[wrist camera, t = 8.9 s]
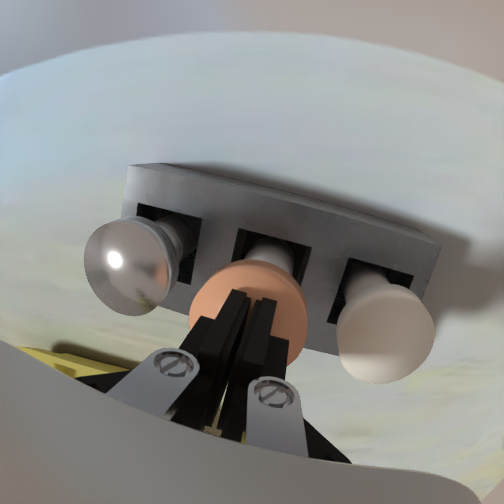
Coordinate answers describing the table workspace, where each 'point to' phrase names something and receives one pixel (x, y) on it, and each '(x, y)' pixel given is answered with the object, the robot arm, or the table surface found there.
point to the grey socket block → (280, 226)
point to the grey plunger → (139, 260)
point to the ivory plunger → (381, 326)
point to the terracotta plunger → (260, 291)
